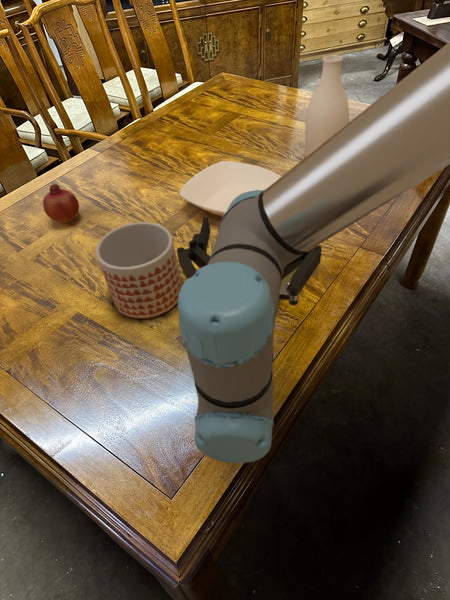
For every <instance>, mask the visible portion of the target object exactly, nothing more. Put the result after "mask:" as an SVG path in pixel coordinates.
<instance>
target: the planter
mask: <svg viewBox="0 0 450 600" xmlns="http://www.w3.org/2000/svg"><path fill="white" fill-rule="evenodd" d="M95 257H96V260H97V262H98V265H99V267H100V270H101V272H102V276H103V278H104V280H105V284H106V286H107V288H108V290H109V294H110V295H111V298H112V302H113V303H114V306H115V308H116V310H118V312H120V313H121V314H122V315H124V316H126V317H129V318H132V319H137V320H138V319H139V320H145V319H153V318H157V317H159V316H162V315H164V314H166V313H167V312H169V311H170V310H172V309H174V307H175V306H176V305H178V296H179V292H180V289H181V287H182V285H183V282H182V277H181V272H180V267H179V261H178V256H177V251H176V248H175V243H174V239H173V235H172V233H171V232H170V230H169V229H167V228H166V227H165V226H163V225H162V224H159V223H155V222H151V221H137V222H130V223H125V224H123V225H120V226H117V227H115V228H113V229H112V230H110V231H108V232H107V233H105V234H104V235H103V236H102V237H101V238H100V240H99V241H98V243H97V244H96V247H95Z"/></svg>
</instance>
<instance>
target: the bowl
mask: <svg viewBox="0 0 450 600" xmlns="http://www.w3.org/2000/svg"><path fill="white" fill-rule="evenodd" d="M280 177H282V176H281V175H280V174H278V173H276V172H274V171H273V170H270V169H268V168H265V167H262V166H258V165H255V164H251V163H250V164H249V163H246V162H240V161H234V160H232V161H231V160H221V161H218V162H216V163H213V164H211V165H209V166H207V167H205V168H203V169H202V170H200V171H199V172H198V173H195V174H194V175H193V176H192V177H191V178H189V179H188V180H187V181H186V182H185V183H184V184H183V185H182V187H181V189H180V190H179V192H178V196H181V198H182V199H183V200H184V201H187V202H188V203H190V204H192V205H194V206H196V207H197V208H199V209H202V210H204V211H206V212H207V213H209V214H211V215H213V216H216V217H220V218H223V215H224V214H225V213H226V211H227V209H228V207H229V205H230V204H231V202H232V201H233V200H234V199H235V198H236V197H237V196H239V195H240V194H242V193H244V192H249V191H255V190H265V189H266V188H268V187H269V186H270V185H272V184H273V183H274V182H275V181H277V180H278V179H279V178H280Z"/></svg>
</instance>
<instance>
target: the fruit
mask: <svg viewBox="0 0 450 600" xmlns="http://www.w3.org/2000/svg"><path fill="white" fill-rule="evenodd" d="M42 203H43V204H42V207H43V211H44V213H45V214H46V216H47V217H49V218H50V219H51V221H55V222H57V223H63V224H65V223H70V222H72V221H73V220H74V219H75V218H76V217H77V215H78V214H79V210H80V204H79V200H78V198H77V197H76V195H75V194H74V193H72V192H71V191H70V190H67V189H63V188H61V187H60V186H59V185H58V184H56V183H54V184H51V185H50V186H49V192H47V193H46V194H45V196H44V197H43V200H42Z"/></svg>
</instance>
